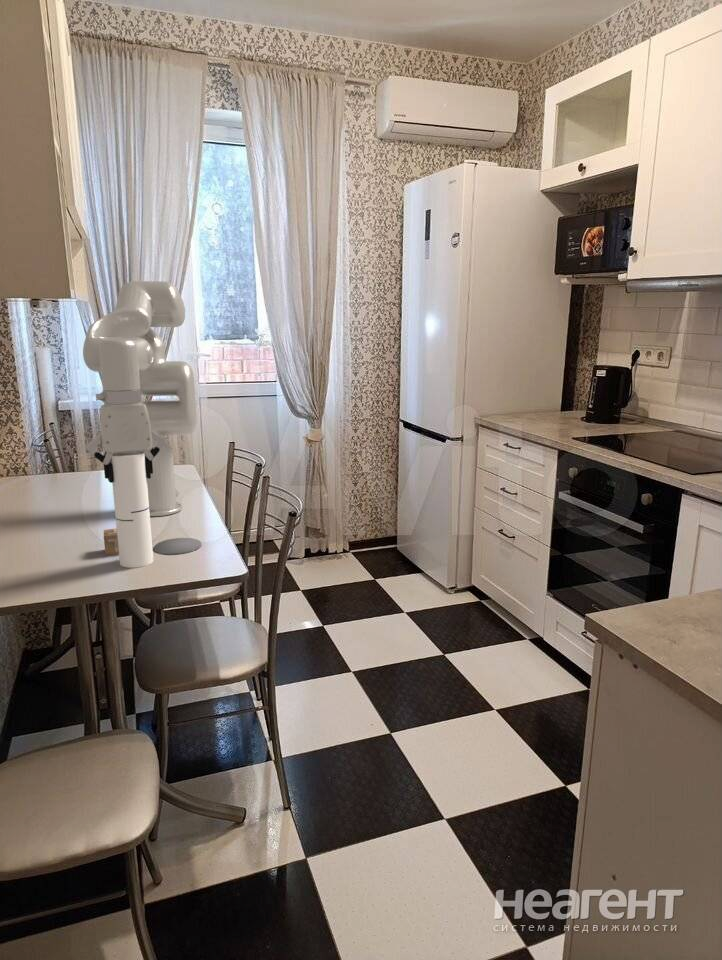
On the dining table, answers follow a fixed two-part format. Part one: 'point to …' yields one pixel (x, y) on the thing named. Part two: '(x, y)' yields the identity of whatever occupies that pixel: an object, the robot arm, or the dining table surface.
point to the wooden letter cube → (111, 542)
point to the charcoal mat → (177, 546)
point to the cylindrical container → (132, 509)
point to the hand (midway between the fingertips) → (129, 478)
